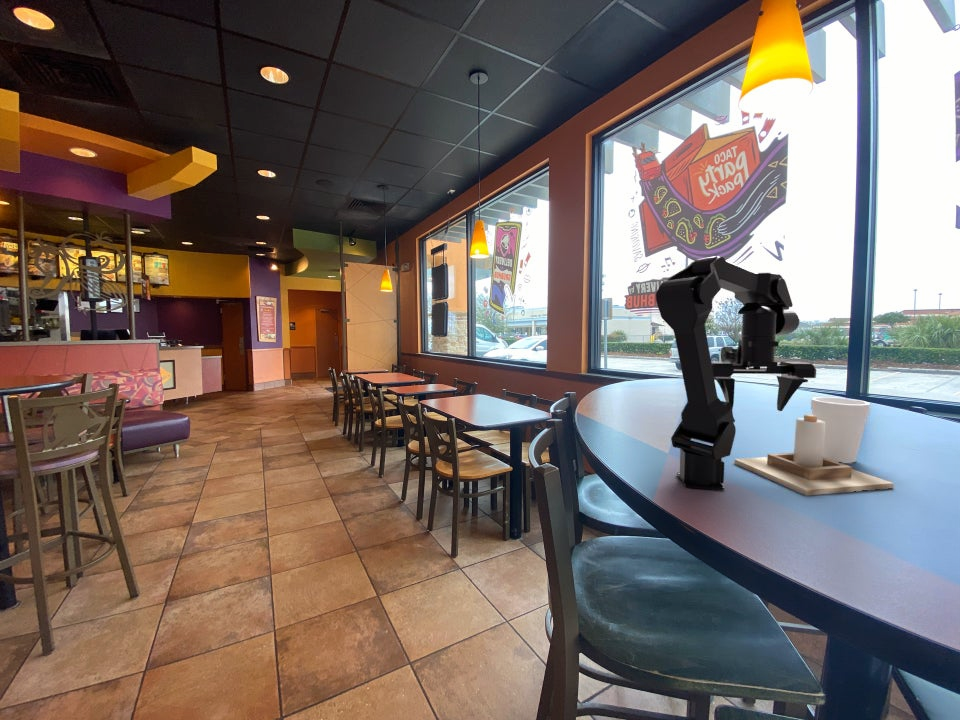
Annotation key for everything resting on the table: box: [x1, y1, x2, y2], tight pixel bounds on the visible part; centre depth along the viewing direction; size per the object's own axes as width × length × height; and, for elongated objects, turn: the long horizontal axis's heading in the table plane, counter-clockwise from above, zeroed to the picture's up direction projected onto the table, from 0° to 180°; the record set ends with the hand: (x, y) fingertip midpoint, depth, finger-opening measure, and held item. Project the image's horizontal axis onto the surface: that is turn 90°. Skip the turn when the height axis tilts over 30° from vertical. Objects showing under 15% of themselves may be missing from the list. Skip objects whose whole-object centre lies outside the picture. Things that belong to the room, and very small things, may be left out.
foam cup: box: [810, 396, 871, 464], centre depth 85 cm, size 10×9×13 cm
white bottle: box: [793, 414, 825, 468], centre depth 76 cm, size 4×4×11 cm
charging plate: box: [734, 451, 895, 496], centre depth 76 cm, size 18×16×3 cm
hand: (754, 409), depth 81 cm, fingers open, 9 cm apart
